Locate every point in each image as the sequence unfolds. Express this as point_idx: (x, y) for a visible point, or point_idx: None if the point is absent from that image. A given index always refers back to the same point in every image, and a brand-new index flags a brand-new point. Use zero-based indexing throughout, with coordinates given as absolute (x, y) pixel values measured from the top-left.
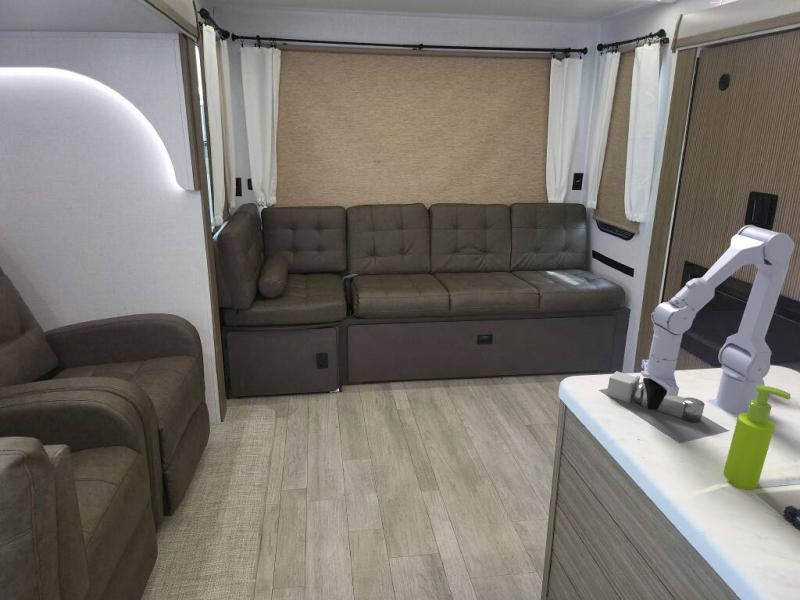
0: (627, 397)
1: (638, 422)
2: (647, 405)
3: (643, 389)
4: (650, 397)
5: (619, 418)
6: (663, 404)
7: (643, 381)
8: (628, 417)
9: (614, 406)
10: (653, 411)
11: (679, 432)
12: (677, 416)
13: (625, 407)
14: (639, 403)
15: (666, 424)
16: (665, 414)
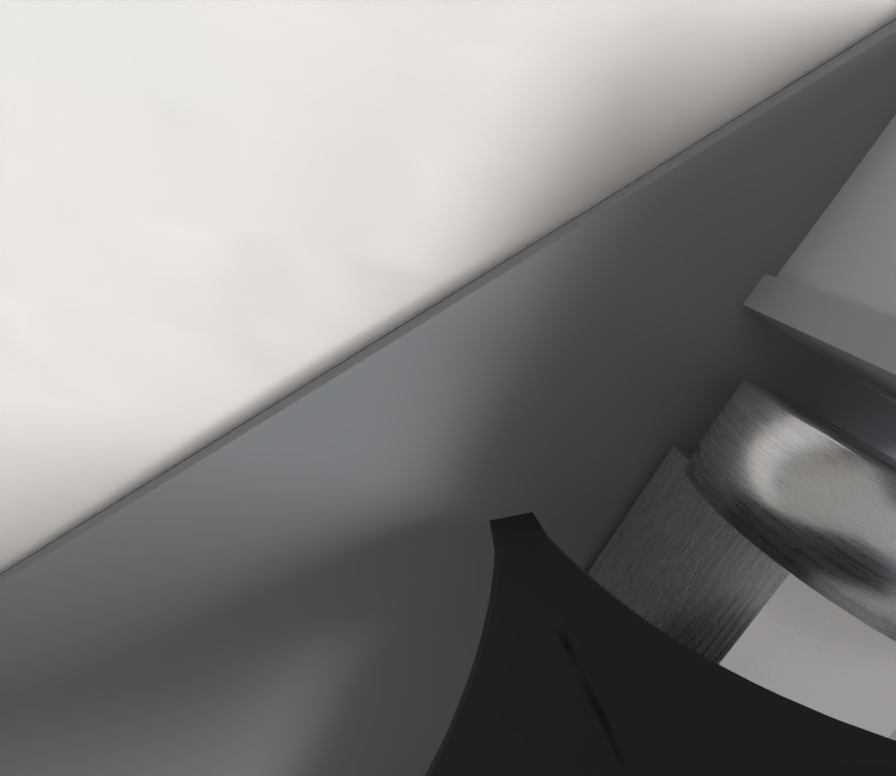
0: (822, 289)
1: (265, 328)
2: (530, 527)
3: (837, 587)
4: (475, 658)
5: (302, 64)
6: None
7: (887, 753)
8: (373, 217)
9: (673, 68)
10: None
11: (102, 726)
12: None
13: (602, 219)
14: None
15: (253, 636)
16: None
